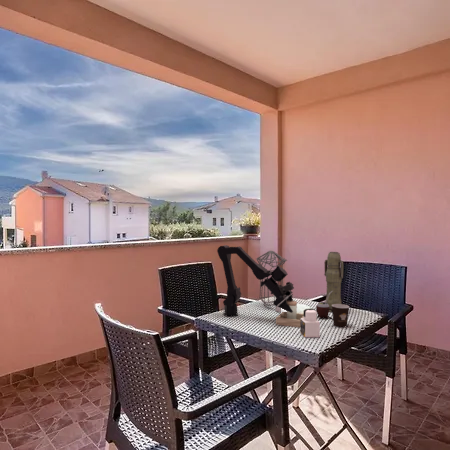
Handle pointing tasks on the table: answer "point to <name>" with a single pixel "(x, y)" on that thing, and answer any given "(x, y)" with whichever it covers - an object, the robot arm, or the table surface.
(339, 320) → the coffee mug
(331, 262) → the stone statue
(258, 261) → the geometric lantern
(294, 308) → the ceramic jar
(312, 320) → the medicine bottle
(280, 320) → the open box
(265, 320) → the table surface
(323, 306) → the mate gourd
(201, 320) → the table surface
